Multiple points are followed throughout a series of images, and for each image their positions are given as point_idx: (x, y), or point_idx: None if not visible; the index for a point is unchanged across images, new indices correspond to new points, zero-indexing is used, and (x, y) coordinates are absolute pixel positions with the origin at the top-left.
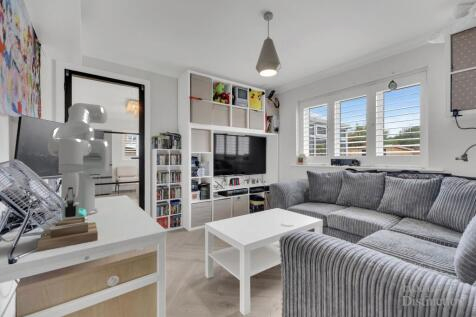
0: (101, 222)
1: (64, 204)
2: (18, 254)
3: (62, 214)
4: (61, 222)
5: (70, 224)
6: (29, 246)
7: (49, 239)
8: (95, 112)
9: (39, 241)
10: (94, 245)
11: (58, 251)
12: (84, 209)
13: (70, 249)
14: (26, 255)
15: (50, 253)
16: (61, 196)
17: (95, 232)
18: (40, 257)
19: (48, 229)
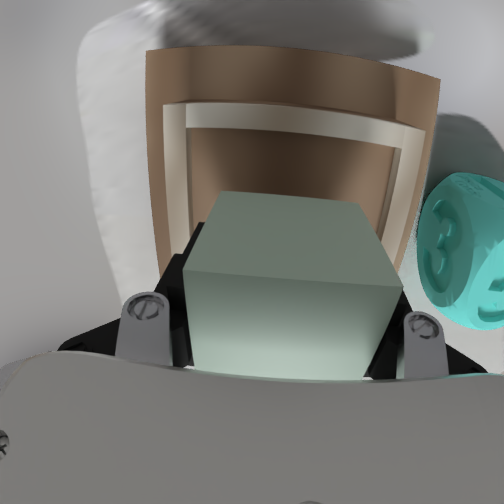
0: (443, 322)
1: (290, 298)
2: None
3: (211, 211)
4: (365, 172)
5: (180, 225)
6: (280, 8)
7: (167, 96)
8: None
9: (162, 52)
10: (117, 260)
11: (113, 138)
12: (492, 327)
13: (112, 181)
14: (140, 22)
15: (106, 111)
16: (9, 383)
17: None
18: (84, 84)
19: (421, 95)
